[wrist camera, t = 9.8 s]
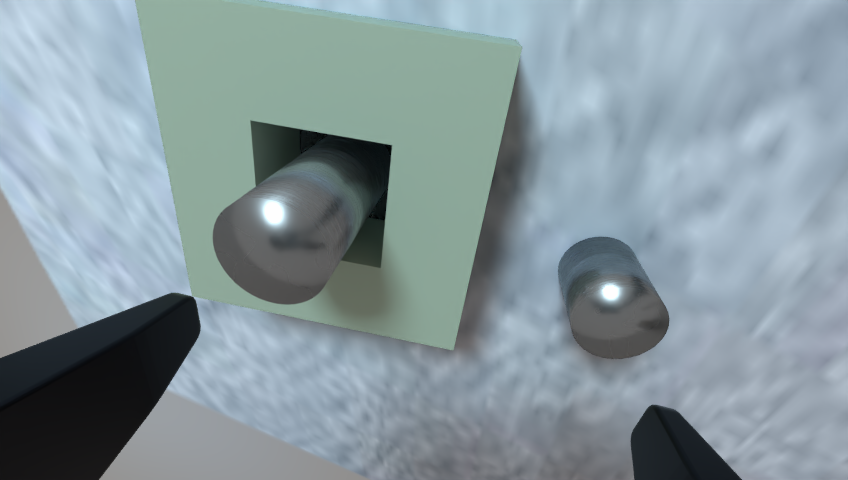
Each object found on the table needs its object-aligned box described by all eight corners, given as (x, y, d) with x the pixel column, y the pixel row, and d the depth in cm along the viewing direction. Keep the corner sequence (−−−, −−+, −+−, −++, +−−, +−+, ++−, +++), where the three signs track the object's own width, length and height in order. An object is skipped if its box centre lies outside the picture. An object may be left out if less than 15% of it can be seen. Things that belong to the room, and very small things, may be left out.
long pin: (396, 134, 18) (330, 211, 11) (388, 207, 19) (329, 314, 12) (317, 120, 18) (204, 187, 11) (317, 194, 20) (220, 292, 13)
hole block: (516, 39, 15) (522, 47, 12) (460, 295, 21) (453, 350, 18) (211, -7, 16) (132, -14, 13) (240, 251, 22) (192, 296, 18)
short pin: (649, 244, 18) (685, 298, 15) (620, 305, 20) (647, 366, 17) (570, 230, 18) (588, 279, 15) (549, 291, 20) (560, 348, 17)
